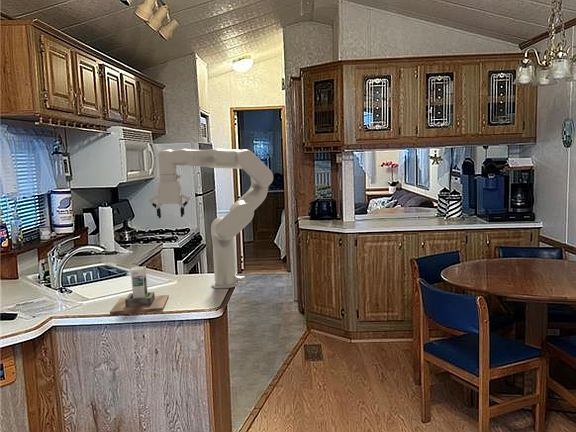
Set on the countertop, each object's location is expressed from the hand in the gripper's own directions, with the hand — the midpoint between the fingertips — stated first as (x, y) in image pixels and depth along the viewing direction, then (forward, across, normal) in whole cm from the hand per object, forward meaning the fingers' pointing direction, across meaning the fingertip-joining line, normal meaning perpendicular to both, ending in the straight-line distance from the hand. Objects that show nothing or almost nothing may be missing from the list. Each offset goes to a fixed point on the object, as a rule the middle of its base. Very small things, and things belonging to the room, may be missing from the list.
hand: (171, 217), depth 230 cm
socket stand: (+33, +12, +21) cm, 41 cm away
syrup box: (+32, +12, +21) cm, 40 cm away
